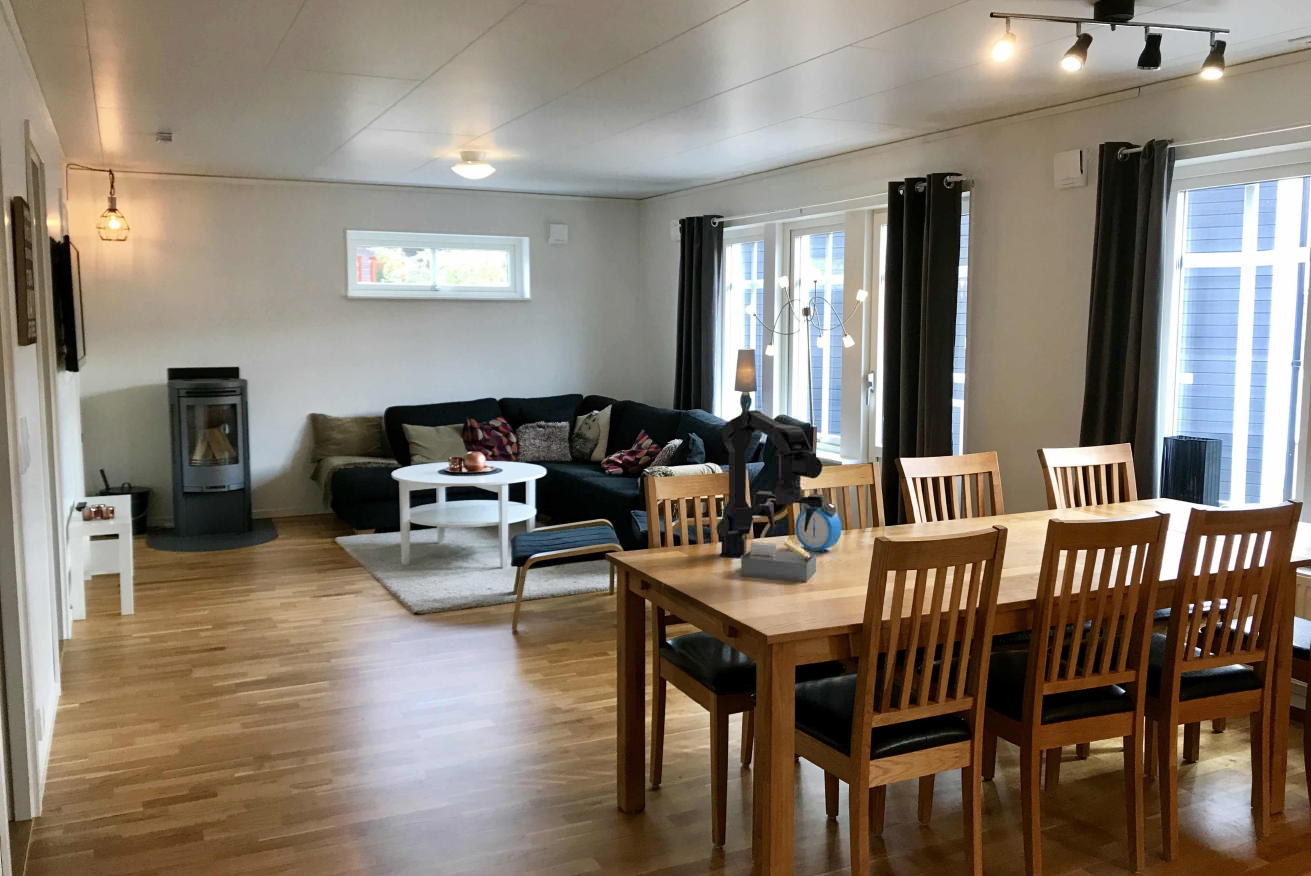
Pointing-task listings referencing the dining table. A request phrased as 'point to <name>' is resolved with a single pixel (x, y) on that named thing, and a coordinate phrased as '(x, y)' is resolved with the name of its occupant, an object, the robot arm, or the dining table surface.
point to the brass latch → (797, 549)
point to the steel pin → (763, 549)
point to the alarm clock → (819, 528)
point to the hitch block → (779, 566)
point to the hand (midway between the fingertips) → (789, 530)
